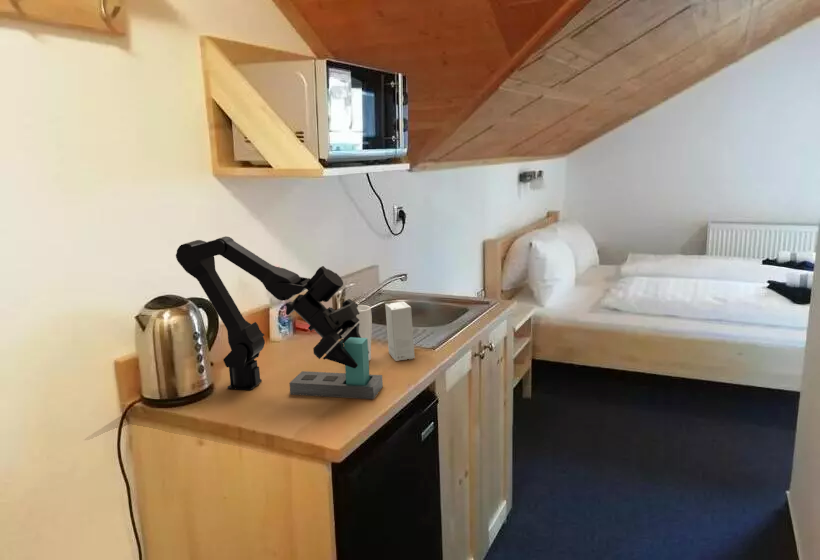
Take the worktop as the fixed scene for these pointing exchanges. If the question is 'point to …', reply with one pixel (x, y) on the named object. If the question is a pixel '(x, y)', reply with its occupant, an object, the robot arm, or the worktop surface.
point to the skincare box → (400, 331)
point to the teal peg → (357, 361)
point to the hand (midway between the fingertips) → (362, 360)
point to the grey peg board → (333, 385)
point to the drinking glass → (365, 324)
